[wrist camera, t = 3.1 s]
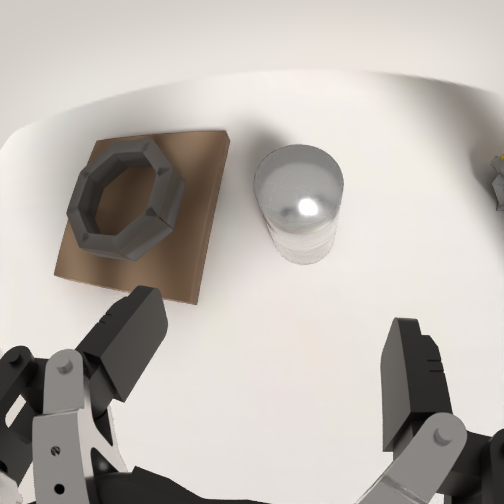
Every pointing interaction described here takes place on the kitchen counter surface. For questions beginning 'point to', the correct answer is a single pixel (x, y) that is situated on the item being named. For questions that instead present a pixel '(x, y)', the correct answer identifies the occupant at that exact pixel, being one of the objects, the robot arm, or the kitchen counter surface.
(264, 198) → the steel peg
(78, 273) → the socket board
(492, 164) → the drill bit
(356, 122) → the kitchen counter surface
